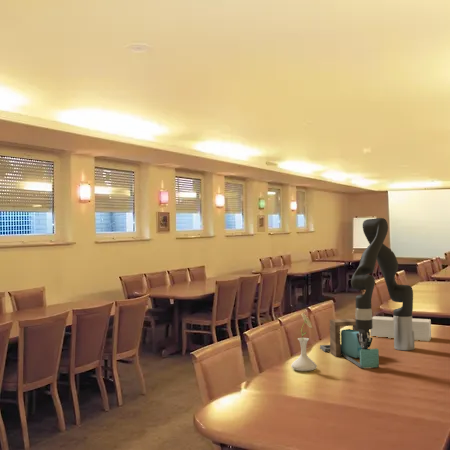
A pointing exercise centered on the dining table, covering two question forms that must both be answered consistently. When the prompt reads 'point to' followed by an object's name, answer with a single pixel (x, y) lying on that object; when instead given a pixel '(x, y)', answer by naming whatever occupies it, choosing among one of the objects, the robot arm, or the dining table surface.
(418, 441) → the dining table surface
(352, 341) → the data package
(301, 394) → the dining table surface
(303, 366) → the flower in vase
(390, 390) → the dining table surface
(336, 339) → the wooden arch
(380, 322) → the white long block
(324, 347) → the tray
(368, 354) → the frame
